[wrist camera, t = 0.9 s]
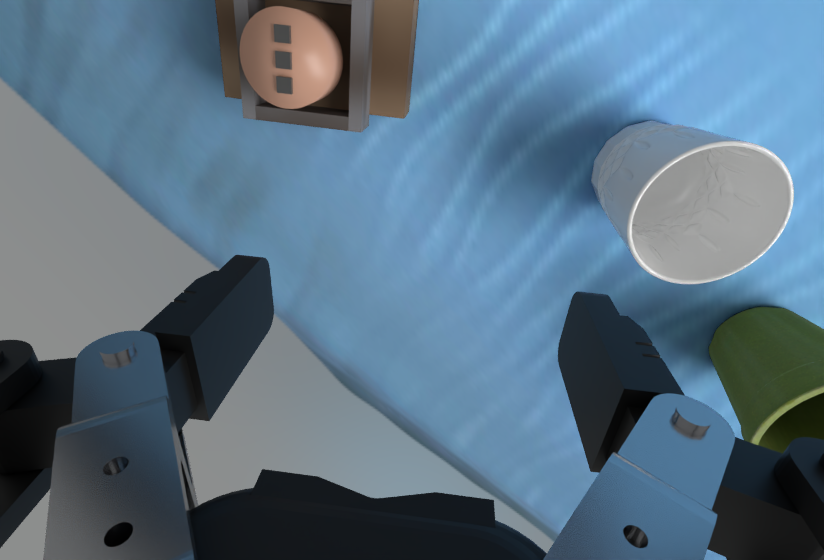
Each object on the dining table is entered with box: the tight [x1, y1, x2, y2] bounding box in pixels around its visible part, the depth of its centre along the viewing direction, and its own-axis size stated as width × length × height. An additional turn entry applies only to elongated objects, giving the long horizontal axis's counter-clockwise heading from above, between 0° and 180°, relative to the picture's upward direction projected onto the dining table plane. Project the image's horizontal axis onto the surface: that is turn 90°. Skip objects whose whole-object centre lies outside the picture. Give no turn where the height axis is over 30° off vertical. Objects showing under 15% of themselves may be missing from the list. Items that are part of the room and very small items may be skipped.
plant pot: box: [709, 307, 824, 453], centre depth 32 cm, size 12×12×11 cm
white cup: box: [591, 120, 794, 284], centre depth 27 cm, size 8×8×10 cm
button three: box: [240, 6, 343, 109], centre depth 24 cm, size 5×5×3 cm
